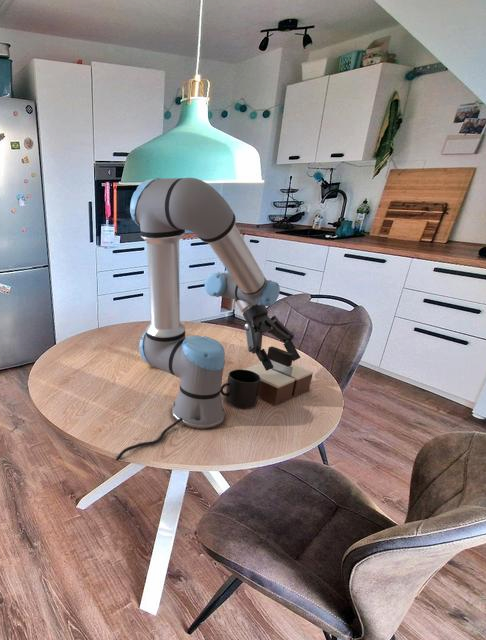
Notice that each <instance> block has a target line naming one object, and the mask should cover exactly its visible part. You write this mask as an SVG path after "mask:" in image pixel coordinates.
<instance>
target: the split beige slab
mask: <svg viewBox="0 0 486 640" xmlns="http://www.w3.org/2000/svg"><path fill="white" fill-rule="evenodd" d="M291 367H293V369H292V374H291V377H289V376H286V375H284V374H282V373H279V372H277V371H274V370H272V369H269V370H267V371H266V370H265V368H264V366H263V364H262V362H260V363H257V364H254V365H251V366H248V367H246V368H242V370H249V371H252V372H255V373H257V374H258V375H259V376H260V384H259V390H258V397H257V398H259V399H261V400H263V401H265V402H267V403H269V404H270V405H273V406H276V405H279V404H281V403H283V402H286V401H288V400H290V399H292V397H293V398H295V397H296V396H299V395H301V394H303V393H306V392H308V391H309V390H310V388H311V387H310V386H311V382H312V379H313V375H314V371H312V370H309V369H307V368H304V367H302V366H299V365H297V364H294V363H292V365H291Z"/></svg>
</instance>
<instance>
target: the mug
mask: <svg viewBox="0 0 486 640" xmlns="http://www.w3.org/2000/svg"><path fill="white" fill-rule="evenodd" d="M242 369H243V368H242ZM242 369H241V368H240V369H232V370H230V371H229V372H228V375H227V382H225V383H222V384H221V392H220V395H221V396H223V397H225V401H226V403H227V404H228V405H230V406H231V407H235V408H238V409H252V408H254V407H255V406H256V405H257V402H258V398H259V397H258V390H259V384H260V376H259V375H258V374H257V373H255V372H252V371H249V370H242ZM225 387H226V391H224V388H225Z"/></svg>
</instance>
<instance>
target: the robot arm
mask: <svg viewBox="0 0 486 640" xmlns="http://www.w3.org/2000/svg"><path fill="white" fill-rule="evenodd" d="M129 212H130V216H131V219H132V221H133V222H134V224H135V225H137V226H138V227H140V228H139V229H140V238H142V239H143V240H144V241H145V242H146V249H147V250H146V251H147V253H146V255H147V273H148V274H147V275H148V292H149V293H148V294H149V295H148V296H149V315H150V316H149V317H150V323H149V325H147V326H146V328H145V330H144V332H143V334H142V335H141V339H140V340H139V345H138V350H139V355H140V357H141V359H142V360H143V361H144V362H145V363H147V364H148V365H149V366H150V365H151V366H153V367H155V369H158V370H161V371H163V372H165V373H167V374H170V375H172V376H175V377H177V378H179V390H178V393H177V395H176V397H175V400H174V401H173V404H172V407H171V415H172V417H173V419H174V420H175V421H174V422H173V423H172V424H170V425H169V426H167V427H166V428H165V429H164V430H163V431H162V432H161V434H160V435H159V436H158V438H157V439H155V440H150V441H146V442H140V443H137V444H134V445H131V446H128V447H126V448H124V449H123V450H122V451H120V452H119V453H118V455H117V457H116V458H115V461H119V460H120V459H121V458H122V456H123V455H124V454H125V453H126V452H128V451H131V450H134V449H136V448H139V447H145V446H152V445H155V444H158V443H159V442H160V441H162V439H163V437H164V436H165V434H166V433H167V432H168V431H169V430H171V429H172V428H173V427H176V425H178V424H181V425H182V426H185V427H188V428H191V429H199V430H208V429H212V428H216V427H218V426H221V424H222V423H223V422H224V420H225V409H224V406H223V399H222V394H221V387H222V385H223V377H224V376H223V375H224V367H225V364H226V360H225V357H226V356H225V354H226V351H225V348H224V346H223V345H222V344H221V343H220V342H219V341H218V340H216V339H214V338H211V337H209V336H204V335H203V336H201V335H189V336H187V337H186V326H185V324H183V323H182V322H181V303H180V302H181V297H180V295H181V292H180V291H181V290H180V285H181V284H180V283H181V282H180V239H182V237H184V235H186V231H188V232H192V233H194V234H195V235H197V237H198V238H199V239H200V240H201V241H202V242H203V243H207V244H208V245H209V246H210V247H211V249H212V251H213V253H214V254H215V255H216V257H217V258H218V259H219V261H220V263H222V265H223V267H224V268H225V269H226V270H225V271H224V272H220V271H218V272H213V273H211V274H209V275H207V277H206V278H205V281H204V290H205V292H206V294H208V295H209V296H210V297H215V298H219V297H222V298H227V299H232V300H234V301H235V303H236V305H237V306H238V309H239V310H240V312H241V313H242V317H243V319H244V320H245V322H246V324H244V325H243V328H244V332H245V336H246V344H247V350H248V353H251V354H254V355H255V356H257V358H258V360H259V361H260V363H262V364H263V366H264V368H265V370H266V371H267V370H269V369H271V368H273V367H274V366H273V364H272V363H271V361H270V359H269V357H268V355H267V354H268V353H267V351H266V350H265V349H264V348H262V346H263V334H266V333H268V334H271V335H272V336H274V337H276V338H277V339H279V340H280V341H281V342H283V346H284V348H285V351H286V352H289V353H292V354H294V355H293V360H292V362H295V361H297V360H299V359H301V355H300V354H299V352H298V350H297V349H296V346H295V344H294V342H293V340H294V338H295V335H294V334H293V333H292V331H290V329H288V328H287V327H286V326H285V325H284V324H283V323H282V322H281V321H280V320H279V318H278V317H277V316H276V315H273V316H271V317H269V316H268V314H269V310H268V308H267V307H272V306H274V305H275V304H276V302H277V300H278V298H279V296H280V292H281V290H280V288H281V287H280V285H279V283H278V282H276V281H274V280H270V279H269V280H268V279H266V277H265V275H264V273H263V271H262V270H261V267H260V266H259V264H258V262H257V261H256V259H255V257H254V256H253V254H252V252H251V250H250V248H249V247H248V244H247V243H246V241H245V240H244V238H243V236H242V234H241V233H240V231H239V228H237V226H236V222H237V218H236V215H235V213H234V210H233V209H232V208H231V206H230V204H229V203H228V201H227V200H226V199H225V197H223V196H222V194H221V193H220V192H218V191H217V190H216V189H215V188H214V187H213V186H212V185H211V184H209V183H207V182H205V181H203V180H202V179H199V178H196V177H173V178H171V177H170V178H168V177H167V178H164V177H156V178H152V179H151V178H150V179H147V180H144V181H142V182H141V183H140V184H139V185H138V186H137V187H136V190H135V191H134V192H133V194H132V196H131V199H130V205H129ZM153 367H152V368H153Z"/></svg>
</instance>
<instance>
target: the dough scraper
mask: <svg viewBox="0 0 486 640" xmlns="http://www.w3.org/2000/svg"><path fill="white" fill-rule="evenodd" d="M266 354H267V355H268V357H269V359H270V361H271V363H272V364H273V366H274V367H273V368H271V369H272V370H274V371H277V372H279V373H282V374H284V375H286V376H289V377H291V374H292V369H293V367H291V365H292V364H293V361H292V360H293V355H294V354H292V353H289V352H287V350H284V349H281V348H278V347H275V346H273V345H272V346H269V347H268V348H267V353H266Z"/></svg>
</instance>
